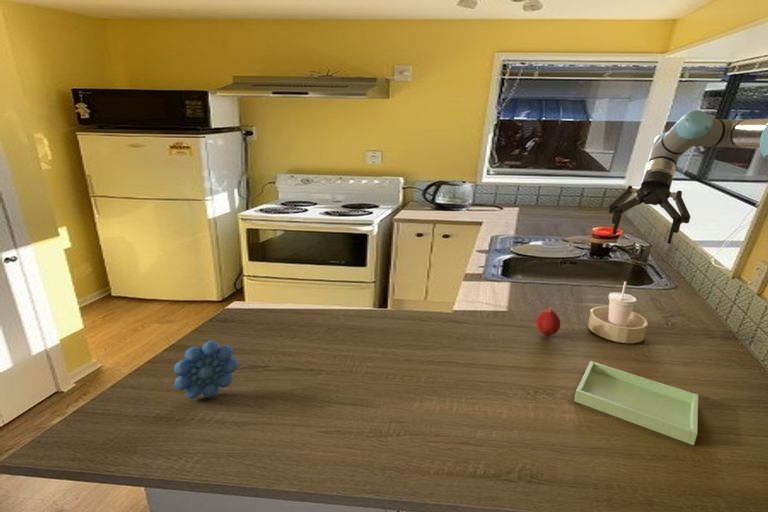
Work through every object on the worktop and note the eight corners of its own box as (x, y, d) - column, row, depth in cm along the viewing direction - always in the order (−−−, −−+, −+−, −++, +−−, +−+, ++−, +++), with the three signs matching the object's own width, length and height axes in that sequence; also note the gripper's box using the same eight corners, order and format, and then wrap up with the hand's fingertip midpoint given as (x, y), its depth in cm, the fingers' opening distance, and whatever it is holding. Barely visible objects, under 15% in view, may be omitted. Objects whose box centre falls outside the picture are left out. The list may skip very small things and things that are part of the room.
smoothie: (598, 330, 112) (608, 281, 108) (606, 322, 116) (616, 275, 112) (625, 339, 108) (636, 288, 103) (632, 330, 112) (643, 281, 108)
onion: (538, 328, 113) (542, 301, 110) (560, 335, 110) (565, 307, 107) (531, 337, 108) (535, 308, 106) (554, 344, 105) (559, 314, 103)
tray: (695, 405, 84) (698, 394, 83) (693, 445, 73) (697, 433, 72) (588, 370, 94) (590, 360, 94) (573, 401, 84) (576, 390, 83)
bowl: (646, 330, 114) (650, 314, 112) (640, 350, 103) (644, 333, 102) (593, 316, 121) (596, 301, 120) (583, 333, 111) (585, 318, 109)
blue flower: (241, 379, 88) (236, 327, 84) (240, 399, 82) (235, 344, 78) (180, 388, 85) (172, 334, 81) (174, 409, 79) (166, 352, 75)
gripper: (706, 190, 122) (692, 252, 116) (611, 181, 136) (593, 235, 129) (711, 173, 117) (697, 237, 110) (611, 165, 130) (593, 221, 124)
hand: (641, 236), depth 120 cm, fingers open, 13 cm apart
